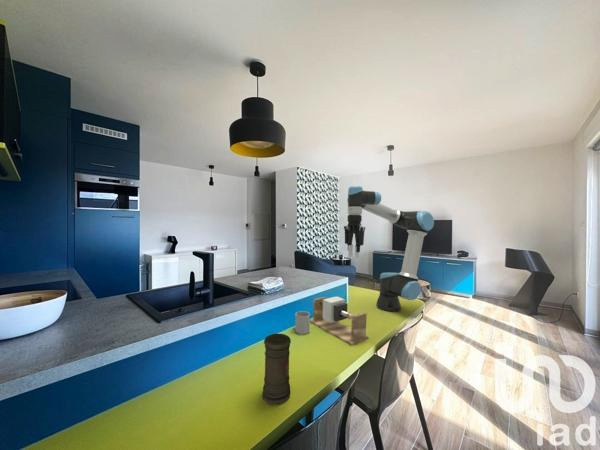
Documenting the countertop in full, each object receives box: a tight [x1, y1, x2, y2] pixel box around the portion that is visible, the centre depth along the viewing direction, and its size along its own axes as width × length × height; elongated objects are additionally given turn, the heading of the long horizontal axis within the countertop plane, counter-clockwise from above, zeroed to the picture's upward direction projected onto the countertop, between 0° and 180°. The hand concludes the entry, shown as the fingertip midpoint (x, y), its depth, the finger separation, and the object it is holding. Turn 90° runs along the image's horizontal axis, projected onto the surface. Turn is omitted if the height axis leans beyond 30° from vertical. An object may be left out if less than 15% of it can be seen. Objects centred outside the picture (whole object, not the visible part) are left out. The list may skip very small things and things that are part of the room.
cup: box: [294, 310, 311, 335], centre depth 124 cm, size 7×10×9 cm
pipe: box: [320, 301, 354, 321], centre depth 125 cm, size 28×3×3 cm, turn 36°
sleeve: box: [323, 296, 346, 323], centre depth 127 cm, size 6×10×10 cm, turn 126°
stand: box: [310, 296, 369, 346], centre depth 125 cm, size 30×12×12 cm, turn 36°
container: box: [262, 333, 292, 406], centre depth 77 cm, size 9×9×18 cm
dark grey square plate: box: [334, 302, 348, 322], centre depth 123 cm, size 2×8×8 cm, turn 126°
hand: (353, 257), depth 132 cm, fingers open, 4 cm apart
